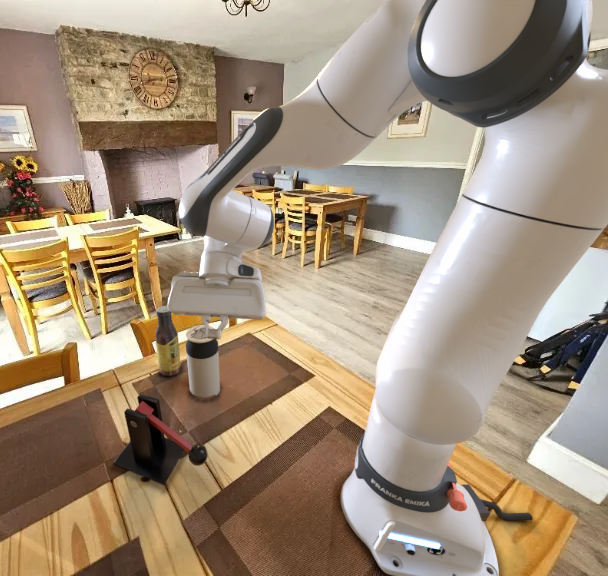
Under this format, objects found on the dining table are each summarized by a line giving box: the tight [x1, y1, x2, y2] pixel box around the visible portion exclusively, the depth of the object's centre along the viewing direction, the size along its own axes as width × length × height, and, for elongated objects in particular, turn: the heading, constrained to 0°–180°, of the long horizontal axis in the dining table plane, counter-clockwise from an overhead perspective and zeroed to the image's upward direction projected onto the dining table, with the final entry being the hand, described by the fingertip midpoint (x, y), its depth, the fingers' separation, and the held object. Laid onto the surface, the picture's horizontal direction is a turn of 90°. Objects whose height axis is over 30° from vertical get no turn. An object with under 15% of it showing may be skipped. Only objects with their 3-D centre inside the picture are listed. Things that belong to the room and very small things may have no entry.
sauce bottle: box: [154, 305, 182, 377], centre depth 86 cm, size 6×6×20 cm
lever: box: [134, 401, 209, 467], centre depth 59 cm, size 16×4×4 cm
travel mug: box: [185, 324, 221, 398], centre depth 79 cm, size 8×8×18 cm
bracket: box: [112, 393, 185, 486], centre depth 61 cm, size 12×9×15 cm
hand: (213, 338), depth 61 cm, fingers closed
